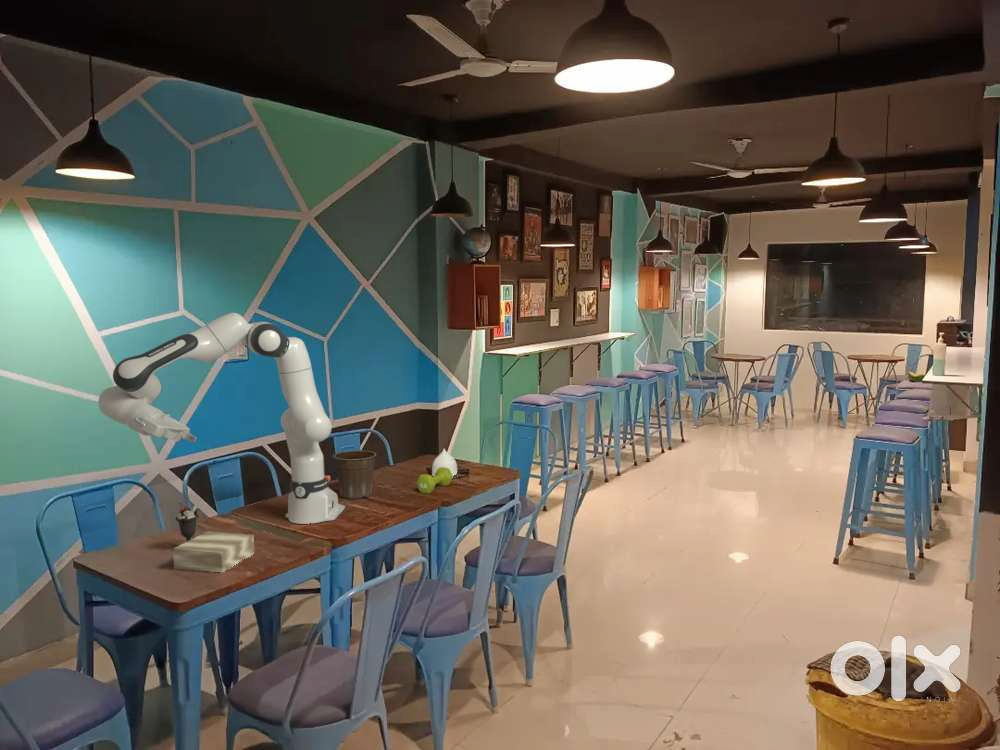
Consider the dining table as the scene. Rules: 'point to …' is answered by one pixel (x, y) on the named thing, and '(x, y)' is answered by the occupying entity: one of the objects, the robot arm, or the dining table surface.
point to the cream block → (213, 551)
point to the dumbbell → (434, 480)
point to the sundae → (187, 522)
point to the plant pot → (355, 473)
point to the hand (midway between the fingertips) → (187, 439)
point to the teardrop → (444, 463)
